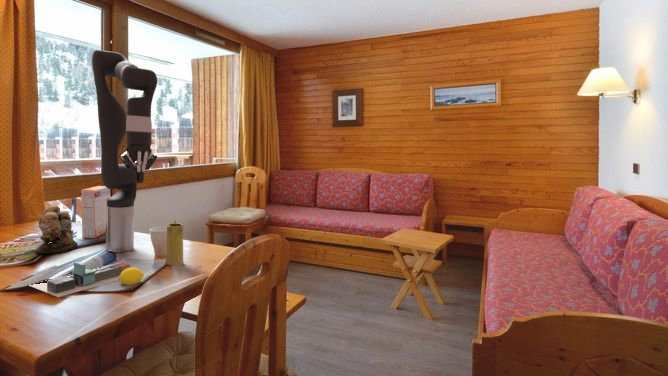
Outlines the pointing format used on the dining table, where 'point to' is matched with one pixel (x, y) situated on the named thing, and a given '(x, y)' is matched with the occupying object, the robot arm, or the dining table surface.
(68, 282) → the tongs base
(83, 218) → the cracker box
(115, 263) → the jaw
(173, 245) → the green pillar candle
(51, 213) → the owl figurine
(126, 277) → the lemon
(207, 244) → the dining table surface
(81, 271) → the lock collar
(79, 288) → the mat
